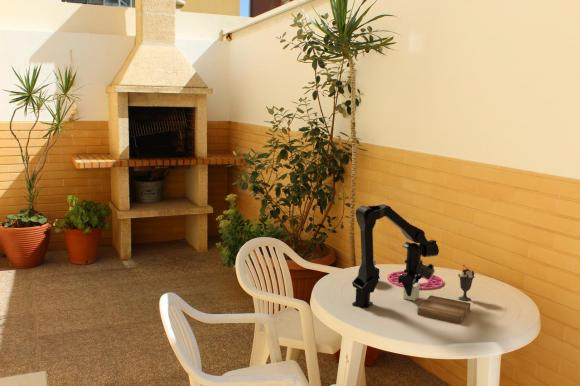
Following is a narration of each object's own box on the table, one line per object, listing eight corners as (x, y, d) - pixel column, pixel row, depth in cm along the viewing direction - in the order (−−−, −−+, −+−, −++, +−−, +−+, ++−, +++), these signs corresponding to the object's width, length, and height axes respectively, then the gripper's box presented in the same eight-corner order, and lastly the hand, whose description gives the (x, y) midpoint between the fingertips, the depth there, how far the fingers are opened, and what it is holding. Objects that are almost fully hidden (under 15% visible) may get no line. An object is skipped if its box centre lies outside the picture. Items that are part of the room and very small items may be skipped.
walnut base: (459, 323, 209) (460, 316, 209) (417, 314, 217) (418, 307, 217) (470, 310, 223) (470, 303, 222) (429, 302, 231) (430, 295, 230)
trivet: (395, 290, 245) (395, 288, 245) (381, 272, 270) (381, 270, 270) (451, 290, 247) (451, 288, 247) (433, 272, 272) (433, 270, 271)
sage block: (414, 300, 231) (415, 286, 230) (403, 298, 234) (404, 284, 233) (418, 297, 236) (419, 283, 235) (407, 295, 238) (408, 281, 237)
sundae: (454, 300, 234) (457, 265, 232) (458, 295, 240) (460, 261, 238) (471, 303, 231) (474, 267, 229) (474, 298, 237) (477, 263, 235)
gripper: (426, 266, 220) (423, 305, 223) (439, 255, 236) (436, 291, 239) (398, 261, 225) (396, 299, 228) (413, 251, 241) (411, 286, 244)
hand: (411, 294), depth 235 cm, fingers closed on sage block, 5 cm apart
